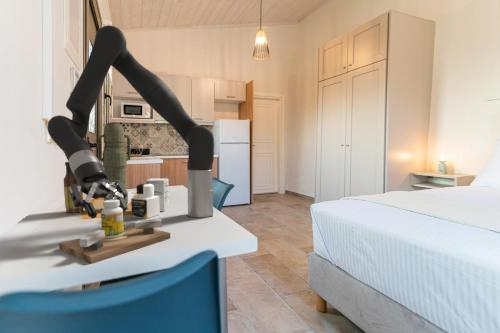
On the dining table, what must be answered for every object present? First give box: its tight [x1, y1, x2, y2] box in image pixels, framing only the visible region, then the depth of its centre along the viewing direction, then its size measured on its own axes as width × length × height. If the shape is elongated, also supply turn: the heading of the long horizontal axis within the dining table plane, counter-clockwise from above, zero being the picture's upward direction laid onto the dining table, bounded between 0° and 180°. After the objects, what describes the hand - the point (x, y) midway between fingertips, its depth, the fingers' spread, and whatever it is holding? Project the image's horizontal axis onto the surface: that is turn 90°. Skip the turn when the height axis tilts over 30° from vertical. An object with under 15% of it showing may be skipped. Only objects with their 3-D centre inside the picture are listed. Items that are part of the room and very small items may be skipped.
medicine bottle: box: [130, 183, 161, 220], centre depth 109 cm, size 7×7×12 cm
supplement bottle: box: [100, 200, 124, 238], centre depth 80 cm, size 5×5×10 cm
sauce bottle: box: [63, 161, 85, 214], centre depth 116 cm, size 6×6×20 cm
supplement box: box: [145, 178, 170, 213], centre depth 120 cm, size 7×7×13 cm
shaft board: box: [58, 218, 171, 264], centre depth 79 cm, size 16×23×5 cm
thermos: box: [97, 122, 132, 208], centre depth 120 cm, size 9×12×35 cm
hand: (110, 213), depth 80 cm, fingers open, 8 cm apart
